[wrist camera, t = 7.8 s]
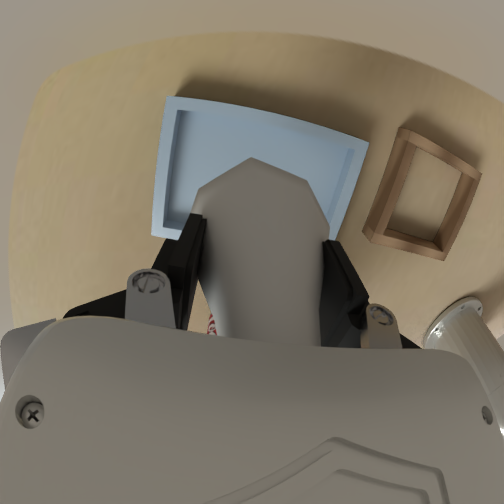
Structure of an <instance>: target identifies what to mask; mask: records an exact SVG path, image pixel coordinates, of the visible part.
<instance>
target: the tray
mask: <svg viewBox="0 0 504 504" xmlns="http://www.w3.org/2000/svg"><path fill="white" fill-rule="evenodd" d="M368 145H369V142H366V141H364V140H361V139H359V138H356V137H353V136H350V135H348V134H345V133H342V132H339V131H336V130H333V129H330V128H327V127H324V126H320V125H317V124H314V123H310V122H307V121H303V120H300V119H296V118H292V117H288V116H285V115H281V114H277V113H272V112H268V111H264V110H259V109H254V108H249V107H244V106H239V105H234V104H228V103H222V102H216V101H209V100H202V99H194V98H186V97H176V96H167V98H166V104H165V109H164V115H163V121H162V128H161V135H160V142H159V149H158V158H157V166H156V176H155V187H154V199H153V213H152V233H151V235H153V236H158V237H164V238H169V239H175V240H178V239H179V237H180V235H181V232H182V230H183V228H184V226H185V223H186V221H187V219H188V217H189V214H190V212H191V209H192V206H193V203H194V200H195V197H196V194H197V191H198V189H199V188H200V187H202V186H204V185H205V184H207V183H208V182H210V181H212V180H213V179H215V178H216V177H218V176H220V175H221V174H223V173H225V172H226V171H228V170H230V169H231V168H233V167H235V166H236V165H238V164H240V163H241V162H243V161H245V160H247V159H248V158H250V157H252V158H255V159H257V160H260V161H263V162H265V163H268V164H270V165H272V166H275V167H277V168H280V169H282V170H284V171H287V172H289V173H291V174H294V175H296V176H298V177H301V178H303V179H305V180H307V181H308V183H309V185H310V187H311V189H312V191H313V193H314V195H315V197H316V199H317V201H318V203H319V205H320V207H321V209H322V211H323V213H324V215H325V217H326V219H327V221H328V223H329V226H330V234H329V240H334V241H335V239H336V236H337V234H338V231H339V229H340V226H341V223H342V221H343V218H344V215H345V213H346V210H347V207H348V205H349V202H350V199H351V196H352V194H353V191H354V188H355V185H356V182H357V179H358V176H359V173H360V170H361V167H362V164H363V161H364V158H365V155H366V152H367V149H368Z"/></svg>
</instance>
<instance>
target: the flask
mask: <svg viewBox="0 0 504 504" xmlns="http://www.w3.org/2000/svg"><path fill="white" fill-rule="evenodd" d="M190 213H195V214H201V215H203V218H204V219H207V221H206V227H205V232H204V238H203V244H202V249H201V255H200V261H199V267H198V274H197V277H198V279H199V282H200V285H201V287H202V290H203V293H204V295H205V298H206V300H207V303H208V305H209V308H210V310H211V313H212V315H213V318H214V321H215V327H216V332H217V336H224V337H231V338H239V339H246V340H254V341H263V342H272V343H281V344H292V345H304V346H318V347H321V338H320V321H319V305H320V298H321V290H322V282H323V274H324V255H323V244H322V242H323V241H324V242H325V241H326V240H327V239H329V234H330V226H329V223H328V221H327V219H326V217H325V215H324V213H323V211H322V209H321V207H320V205H319V203H318V201H317V199H316V197H315V195H314V193H313V191H312V189H311V187H310V185H309V183H308V181H307V180H305V179H303V178H301V177H298V176H296V175H294V174H291V173H289V172H287V171H284V170H282V169H280V168H277V167H275V166H272V165H270V164H268V163H265V162H263V161H260V160H257V159H255V158H252V157H250V158H248V159H247V160H245V161H243V162H241V163H240V164H238V165H236V166H235V167H233V168H231V169H230V170H228V171H226V172H225V173H223V174H221V175H220V176H218V177H216V178H215V179H213V180H212V181H210V182H208V183H207V184H205V185H204V186H202V187H200V188H199V189H198V191H197V194H196V197H195V200H194V203H193V206H192V209H191V212H190Z"/></svg>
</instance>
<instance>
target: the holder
mask: <svg viewBox="0 0 504 504" xmlns="http://www.w3.org/2000/svg"><path fill="white" fill-rule="evenodd" d="M416 147H418V148H420V149H422V150H424V151H426V152H428V153H429V154H431V155H433V156H435V157H437V158H439V159H440V160H442V161H444V162H446V163H447V164H449V165H451V166H453V167H454V168H456V169H458V170H459V171H461V172H462V174H461V177H460V180H459V183H458V185H457V188H456V191H455V193H454V196H453V198H452V201H451V203H450V206H449V208H448V211H447V213H446V215H445V218H444V220H443V222H442V224H441V226H440V229H439V231H438V233H437V235H436V237H435V239H434V241H433V242H430V241H427V240H424V239H421V238H417V237H414V236H411V235H407V234H404V233H401V232H397V231H394V230H390V229H387V228H386V226H387V224H388V222H389V219H390V217H391V215H392V212H393V210H394V207H395V205H396V202H397V200H398V197H399V195H400V192H401V189H402V187H403V184H404V181H405V179H406V176H407V173H408V170H409V167H410V164H411V161H412V158H413V155H414V152H415V149H416ZM481 175H482V173H480V172H479V171H477V170H476V169H475V168H473V167H472V166H470V165H469V164H467V163H466V162H464V161H463V160H461V159H460V158H458V157H457V156H455V155H453V154H452V153H450V152H449V151H447V150H445V149H444V148H442V147H440V146H439V145H437V144H435V143H433V142H432V141H430V140H428V139H426V138H424V137H422V136H421V135H419V134H417V133H415V132H413V131H411V130H407V129H404V128H400V127H399V129H398V132H397V135H396V139H395V142H394V145H393V148H392V152H391V155H390V158H389V161H388V164H387V167H386V170H385V172H384V175H383V178H382V181H381V184H380V187H379V189H378V192H377V195H376V197H375V200H374V203H373V205H372V208H371V210H370V213H369V215H368V218H367V220H366V223H365V225H364V228H363V230H362V232H363V233H364V235H365V236H366V237H367V239H368V240H369V241H370V242H371V243H375V244H380V245H384V246H388V247H392V248H396V249H400V250H403V251H407V252H411V253H415V254H419V255H423V256H426V257H430V258H434V259H438V260H441V261H444V260H445V258H446V257H447V255H448V253H449V251H450V249H451V247H452V245H453V243H454V241H455V239H456V237H457V235H458V232H459V230H460V228H461V226H462V224H463V221H464V219H465V217H466V215H467V212H468V210H469V207H470V205H471V202H472V200H473V197H474V195H475V192H476V189H477V187H478V184H479V181H480V178H481Z"/></svg>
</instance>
